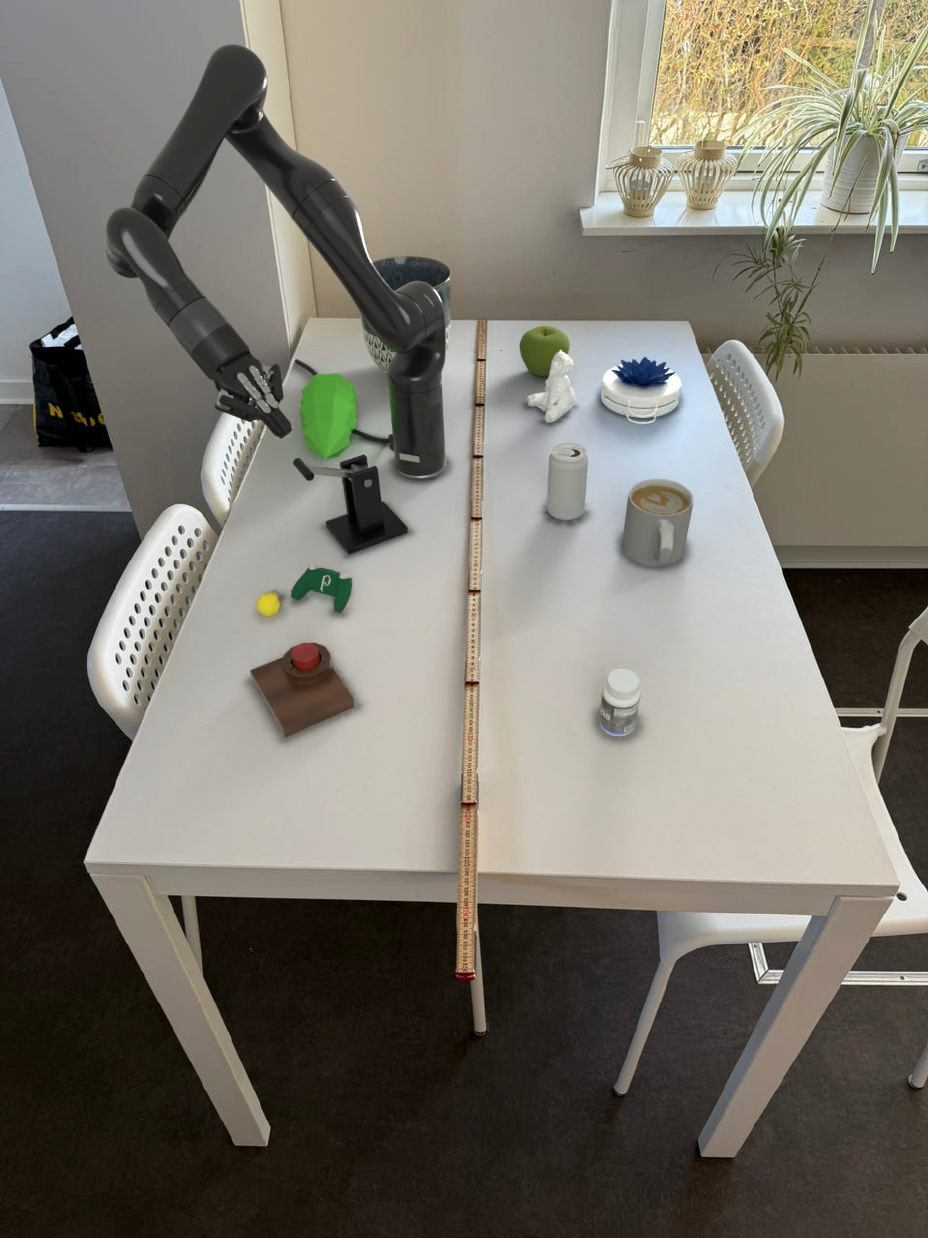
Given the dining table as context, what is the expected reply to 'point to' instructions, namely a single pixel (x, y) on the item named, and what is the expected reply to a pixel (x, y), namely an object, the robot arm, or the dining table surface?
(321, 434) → the green oblong ovoid
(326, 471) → the lever
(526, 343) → the apple
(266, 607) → the light bulb
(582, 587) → the dining table surface
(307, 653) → the button
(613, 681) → the pill bottle
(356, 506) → the bracket
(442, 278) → the planter
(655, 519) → the coffee mug
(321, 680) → the button block
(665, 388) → the lotus flower trinket box
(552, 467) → the beverage can
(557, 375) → the sitting furry creature
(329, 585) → the gaming controller
